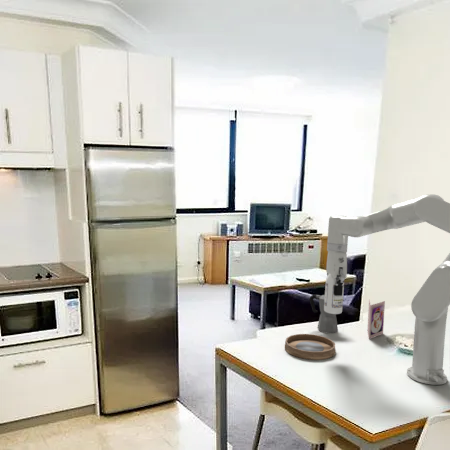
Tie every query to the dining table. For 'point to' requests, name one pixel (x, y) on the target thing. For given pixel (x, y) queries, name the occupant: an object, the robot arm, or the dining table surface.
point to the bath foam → (332, 297)
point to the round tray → (310, 346)
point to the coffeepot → (324, 316)
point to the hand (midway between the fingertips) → (334, 292)
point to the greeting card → (375, 319)
